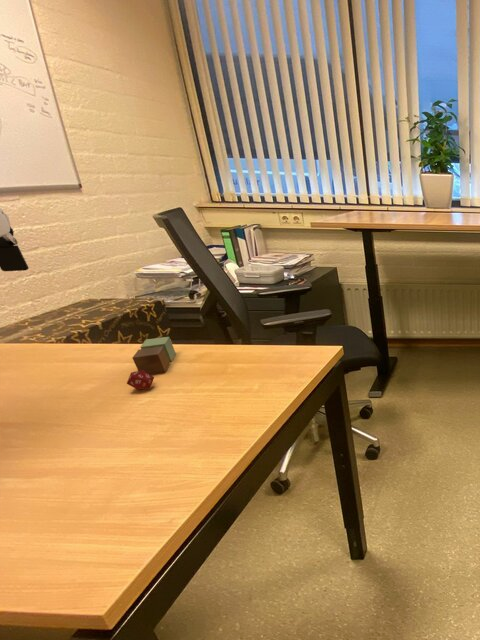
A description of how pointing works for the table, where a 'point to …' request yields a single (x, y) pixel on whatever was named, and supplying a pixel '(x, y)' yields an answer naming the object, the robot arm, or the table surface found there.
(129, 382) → the dice
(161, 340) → the sage block
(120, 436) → the table surface
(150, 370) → the walnut block
